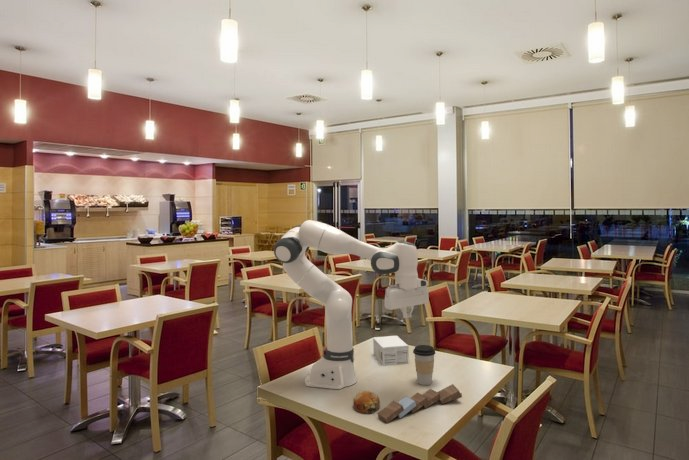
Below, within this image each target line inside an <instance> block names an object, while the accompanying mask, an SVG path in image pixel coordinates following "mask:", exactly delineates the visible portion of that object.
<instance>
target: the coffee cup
mask: <svg viewBox="0 0 689 460" xmlns="http://www.w3.org/2000/svg"><path fill="white" fill-rule="evenodd" d="M412 354H414V363H415V364H414V365H415V366H414V367H415V371H416V372H415V373H416V377H417V383H418V384H419V385H422V386H430V385H431V384H432V382H433V374H434V367H435V365H434V363H435V355H436V350H435V348H434V347H433V346H432V345H427V344H419V345H416V346H414V348H413V350H412Z"/></svg>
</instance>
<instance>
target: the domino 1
mask: <svg viewBox="0 0 689 460" xmlns="http://www.w3.org/2000/svg"><path fill="white" fill-rule="evenodd" d="M403 411H404V408H403V405H401V404H399V403H398V401H395V400H392V401H391V402H390V403H388V404H387V405H385V407H383V408H381V410H380V411H377V413H376V414H377V417H378V419H380V420H382V421H383V422H385V423H386V424H388V423H390V422H391V421H393V419H394V418H395V419H396V417H397V415H399V414H400V413H401V412H403Z"/></svg>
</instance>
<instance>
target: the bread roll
mask: <svg viewBox="0 0 689 460" xmlns="http://www.w3.org/2000/svg"><path fill="white" fill-rule="evenodd" d="M352 402H353V408H354V410H355V411H356V412H357V411H358V413H360V414H373V413H375V412H376V411H377V412H378V409H379V408H380V404H381V403H380V402H381V401H380V399H379V396H378V395H377V393H375V392H373V391H371V390H363V391H362V390H361V391H359V392H358V393H357V394H356V395H355V396H354V398H353V400H352Z"/></svg>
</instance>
